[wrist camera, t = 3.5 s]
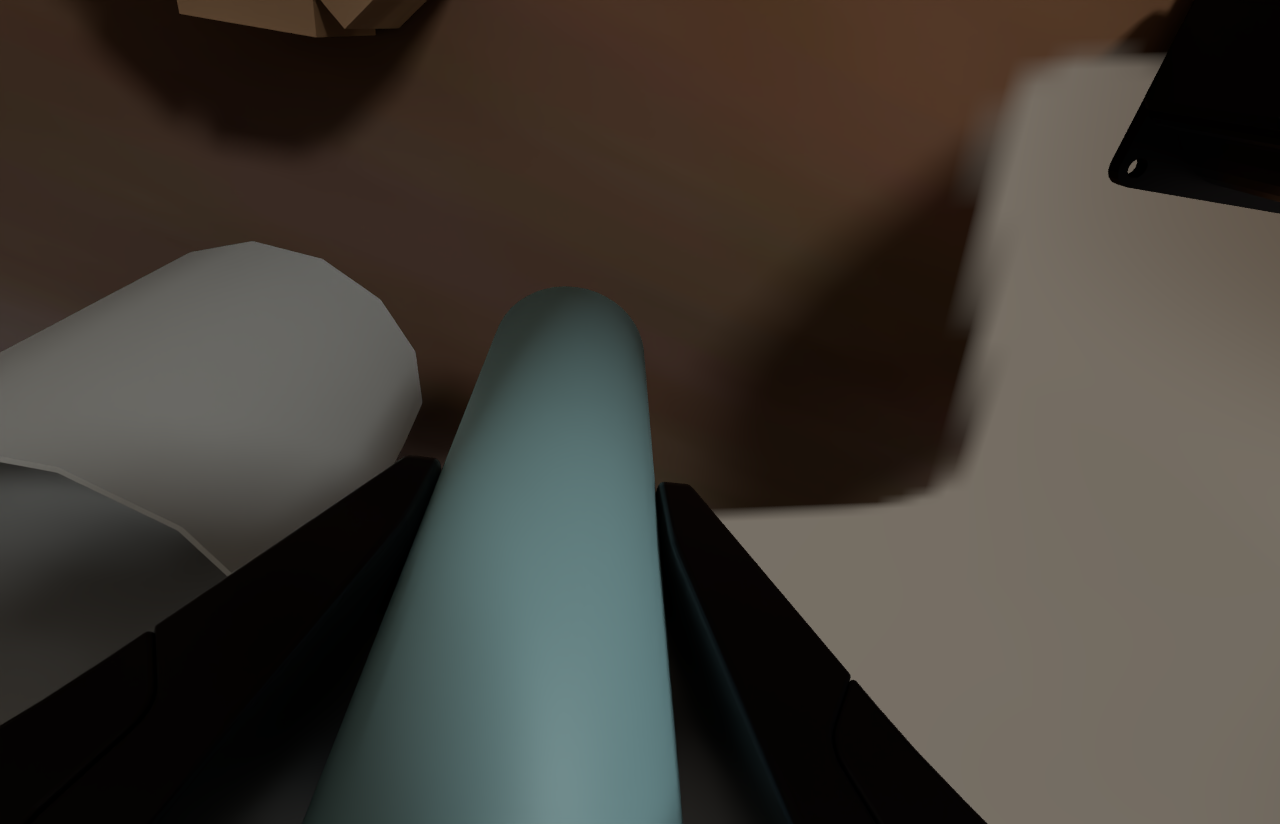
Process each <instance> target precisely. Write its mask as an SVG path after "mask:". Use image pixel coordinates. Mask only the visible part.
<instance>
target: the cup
mask: <svg viewBox="0 0 1280 824" xmlns="http://www.w3.org/2000/svg"><path fill="white" fill-rule="evenodd" d="M421 405H422V396H421V389H420V382H419V375H418V368H417V360H416V353H415V350H414V349H413V347H412V346H411V345H410V343H409V342H408V340H407V339H406V337H405V336H404V334H403V333H402V331H401V330H400V328H399V327H398V325H397V324H396V322H395V321H394V319H393V318H392V316H391V315H390V313H389V312H388V310H387V309H386V307H385V306H384V304H383V303H382V301H381V300H380V299H379V298H377V297H376V296H374V295H373V294H372V293H370V292H369V291H367V290H366V289H364V288H363V287H362V286H360V285H359V284H357V283H356V282H354V281H353V280H352V279H350V278H349V277H347V276H346V275H344V274H343V273H342V272H340V271H339V270H337V269H336V268H334V267H333V266H331V265H330V264H329V263H327V262H326V261H324V260H323V259H320V258H316V257H313V256H309V255H305V254H301V253H297V252H293V251H289V250H285V249H281V248H277V247H273V246H269V245H265V244H262V243H258V242H254V241H251V242H246V243H240V244H234V245H229V246H223V247H218V248H212V249H206V250H201V251H195V252H190V253H188V254H186V255H184V256H182V257H180V258H179V259H177V260H175V261H173V262H171V263H169V264H167V265H165V266H163V267H162V268H160V269H158V270H156V271H154V272H152V273H150V274H148V275H146V276H144V277H143V278H141V279H139V280H137V281H135V282H133V283H131V284H129V285H127V286H126V287H124V288H122V289H120V290H118V291H116V292H114V293H112V294H110V295H108V296H107V297H105V298H103V299H101V300H99V301H97V302H95V303H93V304H91V305H90V306H88V307H86V308H84V309H82V310H80V311H78V312H76V313H74V314H72V315H71V316H69V317H67V318H65V319H63V320H61V321H59V322H57V323H55V324H54V325H52V326H50V327H48V328H46V329H44V330H42V331H40V332H38V333H36V334H35V335H33V336H31V337H29V338H27V339H25V340H23V341H21V342H19V343H18V344H16V345H14V346H12V347H10V348H8V349H6V350H4V351H2V352H0V725H1V724H3V723H4V722H6V721H8V720H9V719H11V718H13V717H14V716H16V715H18V714H19V713H21V712H22V711H24V710H26V709H27V708H29V707H31V706H32V705H34V704H36V703H37V702H39V701H41V700H42V699H44V698H45V697H47V696H48V695H50V694H51V693H53V692H55V691H56V690H58V689H59V688H61V687H62V686H64V685H65V684H67V683H68V682H70V681H71V680H73V679H75V678H76V677H78V676H79V675H81V674H82V673H84V672H85V671H87V670H88V669H90V668H91V667H93V666H95V665H96V664H98V663H99V662H101V661H102V660H104V659H105V658H107V657H108V656H110V655H111V654H113V653H114V652H116V651H117V650H119V649H120V648H122V647H123V646H125V645H126V644H128V643H129V642H130V641H132V640H133V639H135V638H136V637H138V636H139V635H141V634H142V633H144V632H145V631H152V632H153V633H154V627H155V625H156V624H158V623H159V622H161V621H162V620H163V619H165V618H166V617H168V616H169V615H171V614H172V613H174V612H175V611H177V610H178V609H180V608H181V607H183V606H184V605H186V604H187V603H189V602H190V601H192V600H193V599H194V598H196V597H197V596H199V595H200V594H202V593H203V592H205V591H206V590H208V589H209V588H211V587H212V586H214V585H215V584H217V583H218V582H220V581H221V580H223V579H224V578H226V577H227V576H228V575H230V574H231V573H233V572H234V571H236V570H237V569H239V568H240V567H242V566H243V565H245V564H246V563H248V562H249V561H251V560H252V559H254V558H255V557H257V556H258V555H259V554H261V553H262V552H264V551H265V550H267V549H268V548H270V547H271V546H273V545H274V544H276V543H277V542H279V541H280V540H282V539H283V538H285V537H286V536H288V535H289V534H291V533H292V532H293V531H295V530H296V529H298V528H299V527H301V526H302V525H304V524H305V523H307V522H308V521H310V520H311V519H313V518H314V517H316V516H317V515H319V514H320V513H322V512H323V511H324V510H326V509H327V508H329V507H330V506H332V505H333V504H335V503H336V502H338V501H339V500H341V499H342V498H344V497H345V496H347V495H348V494H350V493H351V492H353V491H354V490H356V489H357V488H358V487H360V486H361V485H363V484H364V483H366V482H367V481H369V480H370V479H372V478H373V477H375V476H376V475H378V474H379V473H381V472H382V471H384V470H385V469H387V468H388V467H389V466H391V465H392V464H394V463H395V461H396V459H397V457H398V455H399V453H400V452H401V450H402V448H403V446H404V444H405V441H406V439H407V437H408V435H409V432H410V430H411V428H412V425H413V423H414V421H415V419H416V416H417V414H418V412H419V410H420V407H421Z"/></svg>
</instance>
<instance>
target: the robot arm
mask: <svg viewBox="0 0 1280 824" xmlns="http://www.w3.org/2000/svg"><path fill="white" fill-rule="evenodd" d="M1135 160H1137V165H1136V168H1135V169H1134V170H1133V171H1132V172H1131V173H1129V174H1128V172H1127V171H1128V168H1129V166H1130V165H1131V163H1132V162H1133V161H1135ZM1108 174H1109V178H1110V180H1111V181H1112V182H1114V183H1116V184H1118V185H1121V186H1125V187H1128V188H1134V189H1140V190H1146V191H1151V192H1158V193H1163V194H1169V195H1175V196H1181V197H1186V198H1192V199H1198V200H1204V201H1210V202H1216V203H1221V204H1227V205H1234V206H1239V207H1245V208H1251V209H1257V210H1262V211H1268V212H1274V213H1280V0H1195V1H1194V3H1193V5H1192V7H1191V8H1190V10H1189V12H1188V14H1187V16H1186V18H1185V20H1184V22H1183V24H1182V26H1181V28H1180V30H1179V32H1178V34H1177V35H1176V37H1175V39H1174V41H1173V43H1172V45H1171V47H1170V49H1169V51H1168V53H1167V55H1166V57H1165V59H1164V61H1163V62H1162V64H1161V66H1160V68H1159V70H1158V72H1157V74H1156V76H1155V78H1154V80H1153V82H1152V84H1151V86H1150V88H1149V89H1148V91H1147V94H1146V95H1145V98H1144V99H1143V102H1142V103H1141V105H1140V107H1139V109H1138V111H1137V113H1136V115H1135V117H1134V119H1133V121H1132V123H1131V125H1130V126H1129V129H1128V130H1127V132H1126V134H1125V136H1124V138H1123V140H1122V142H1121V144H1120V146H1119V148H1118V150H1117V151H1116V153H1115V155H1114V157H1113V159H1112V161H1111V163H1110V166H1109V169H1108ZM440 473H441V465H440V462H439V461H438V460H437V459H436V458H430V457H420V456H405V457H403V458H401V459H400V460H398V461H397V462H395V463H394V464H392V465H391V466H389V467H388V468H387V469H385V470H384V471H382V472H381V473H379V474H378V475H376V476H375V477H373V478H372V479H370V480H369V481H367V482H366V483H364V484H363V485H361V486H360V487H358V488H357V489H356V490H354V491H353V492H351V493H350V494H348V495H347V496H345V497H344V498H342V499H341V500H339V501H338V502H336V503H335V504H333V505H332V506H330V507H329V508H327V509H326V510H324V511H323V512H322V513H320V514H319V515H317V516H316V517H314V518H313V519H311V520H310V521H308V522H307V523H305V524H304V525H302V526H301V527H299V528H298V529H296V530H295V531H293V532H292V533H291V534H289V535H288V536H286V537H285V538H283V539H282V540H280V541H279V542H277V543H276V544H274V545H273V546H271V547H270V548H268V549H267V550H265V551H264V552H262V553H261V554H259V555H258V556H257V557H255V558H254V559H252V560H251V561H249V562H248V563H246V564H245V565H243V566H242V567H240V568H239V569H237V570H236V571H234V572H233V573H231V574H230V575H228V576H227V577H226V578H224V579H223V580H221V581H220V582H218V583H217V584H215V585H214V586H212V587H211V588H209V589H208V590H206V591H205V592H203V593H202V594H200V595H199V596H197V597H196V598H194V599H193V600H192V601H190V602H189V603H187V604H186V605H184V606H183V607H181V608H180V609H178V610H177V611H175V612H174V613H172V614H171V615H169V616H168V617H166V618H165V619H163V620H162V621H161V622H159V623H158V624H156V625H155V627H154V633H153V632H152V631H145V632H144V633H142V634H141V635H139V636H138V637H136V638H135V639H133V640H132V641H130V642H129V643H128V644H126V645H125V646H123V647H122V648H120V649H119V650H117V651H116V652H114V653H113V654H111V655H110V656H108V657H107V658H105V659H104V660H102V661H101V662H99V663H98V664H96V665H95V666H93V667H91V668H90V669H88V670H87V671H85V672H84V673H82V674H81V675H79V676H78V677H76V678H75V679H73V680H71V681H70V682H68V683H67V684H65V685H64V686H62V687H61V688H59V689H58V690H56V691H55V692H53V693H51V694H50V695H48V696H47V697H45V698H44V699H42V700H41V701H39V702H37V703H36V704H34V705H32V706H31V707H29V708H27V709H26V710H24V711H22V712H21V713H19V714H18V715H16V716H14V717H13V718H11V719H9V720H8V721H6V722H4V723H3V724H1V725H0V824H302V822H303V820H304V817H305V814H306V812H307V809H308V807H309V804H310V802H311V799H312V797H313V794H314V792H315V789H316V787H317V784H318V782H319V779H320V777H321V774H322V772H323V769H324V766H325V764H326V761H327V759H328V756H329V754H330V751H331V749H332V746H333V744H334V741H335V739H336V736H337V734H338V731H339V729H340V726H341V724H342V721H343V718H344V716H345V713H346V711H347V708H348V706H349V703H350V701H351V698H352V696H353V693H354V691H355V688H356V686H357V683H358V681H359V678H360V675H361V673H362V670H363V668H364V665H365V663H366V660H367V658H368V655H369V653H370V650H371V648H372V645H373V643H374V640H375V638H376V635H377V633H378V630H379V627H380V625H381V622H382V620H383V617H384V615H385V612H386V610H387V607H388V605H389V602H390V600H391V597H392V595H393V592H394V590H395V587H396V585H397V582H398V579H399V577H400V574H401V572H402V569H403V567H404V564H405V562H406V559H407V557H408V554H409V552H410V549H411V547H412V544H413V542H414V539H415V537H416V534H417V531H418V529H419V526H420V524H421V521H422V519H423V516H424V514H425V511H426V509H427V506H428V504H429V501H430V499H431V496H432V494H433V491H434V489H435V486H436V483H437V481H438V478H439V476H440ZM656 504H657V516H658V528H659V540H660V552H661V564H662V576H663V588H664V600H665V612H666V624H667V636H668V648H669V660H670V672H671V684H672V696H673V708H674V720H675V732H676V744H677V756H678V768H679V781H680V793H681V805H682V817H683V824H987V823H986V822H985V821H984V820H983V819H982V818H981V817H980V816H979V815H978V814H977V813H976V812H975V811H974V810H973V809H972V808H971V807H970V806H969V805H968V804H967V803H966V802H965V801H964V800H963V799H962V797H961V796H960V795H959V794H958V793H957V792H956V791H955V790H954V789H953V788H952V787H951V786H950V785H949V784H948V783H947V782H946V781H945V780H944V779H943V778H942V777H941V775H939V773H937V771H936V770H935V769H934V768H933V767H932V766H931V765H930V764H929V763H928V762H927V761H926V760H925V759H924V758H923V757H922V756H921V755H920V754H919V753H918V751H917V750H916V749H915V748H914V747H913V746H912V745H911V744H910V743H909V741H908V740H907V739H906V738H905V737H904V736H903V735H902V733H901V732H900V731H899V730H898V729H897V728H896V727H895V725H893V723H892V722H891V721H890V720H889V719H888V718H887V716H886V715H885V714H884V713H883V712H882V711H881V710H880V709H879V708H878V706H877V705H876V704H875V703H874V701H873V700H872V699H871V698H870V697H869V696H868V694H867V693H866V692H865V691H864V690H863V689H862V687H861V686H860V685H859V684H858V683H857V681H855V680H851V681H850V678H851V677H850V674H849V672H848V671H847V670H846V669H845V668H844V666H843V665H842V664H841V663H840V662H839V661H838V659H837V658H836V657H835V656H834V655H833V653H832V652H831V651H830V650H829V649H828V647H827V646H826V645H825V644H824V643H823V642H822V640H821V639H820V638H819V637H818V636H817V634H816V633H815V632H814V631H813V630H812V628H811V627H810V626H809V625H808V624H807V623H806V621H805V620H804V619H803V618H802V617H801V616H800V614H799V613H798V612H797V611H796V610H795V608H794V607H793V606H792V605H791V604H790V602H789V601H788V600H787V599H786V598H785V596H784V595H783V594H782V593H781V592H780V591H779V589H778V588H777V587H776V586H775V585H774V584H773V582H772V581H771V580H770V579H769V578H768V577H767V575H766V574H765V573H764V572H763V570H762V569H761V568H760V567H759V566H758V565H757V563H756V562H755V561H754V560H753V559H752V558H751V556H750V555H749V554H748V553H747V552H746V550H745V549H744V548H743V547H742V546H741V544H740V543H739V542H738V541H737V540H736V539H735V537H734V536H733V535H732V534H731V533H730V531H729V530H728V529H727V528H726V527H725V525H724V524H723V523H722V522H721V521H720V520H719V518H718V517H717V516H716V515H715V514H714V512H713V511H712V510H711V509H710V508H709V507H708V505H707V504H706V503H705V502H704V501H703V499H702V498H701V497H700V496H699V495H698V493H697V492H696V491H695V490H694V489H693V488H692V487H691V486H690V485H688V484H680V483H671V482H662V483H660V484H659V486H658V488H657V491H656ZM849 681H850V682H849Z"/></svg>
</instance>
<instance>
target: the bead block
mask: <svg viewBox="0 0 1280 824" xmlns="http://www.w3.org/2000/svg"><path fill="white" fill-rule="evenodd" d="M426 1H427V0H177V3H178V9H179V14H184V15H189V16H195V17H201V18H207V19H213V20H218V21H224V22H230V23H236V24H241V25H247V26H253V27H259V28H265V29H270V30H276V31H282V32H288V33H293V34H299V35H305V36H311V37H342V36H370V35H376V33H375V29H395V28H400V27H401V26H402V25H403V24H404V23H405V22H406V21H407V20H408V19H409V18H410V17H411V16H412V15H413V14H414V13H415V12H416V11H417V10H418V9H419V8H420V7H421V6H422V5H423V4H424V3H425V2H426Z"/></svg>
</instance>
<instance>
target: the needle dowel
mask: <svg viewBox="0 0 1280 824" xmlns="http://www.w3.org/2000/svg"><path fill="white" fill-rule="evenodd" d="M302 824H683V817H682V805H681V793H680V781H679V768H678V756H677V744H676V732H675V720H674V708H673V696H672V684H671V672H670V660H669V648H668V636H667V624H666V612H665V600H664V588H663V576H662V564H661V552H660V540H659V528H658V516H657V504H656V492H655V480H654V468H653V456H652V444H651V432H650V420H649V408H648V396H647V384H646V372H645V360H644V349H643V344H642V340H641V337H640V334H639V331H638V329H637V327H636V325H635V324H634V322H633V321H632V319H631V318H630V317H629V315H628V314H627V313H626V312H625V311H624V310H623V309H622V308H621V307H620V306H618V305H617V304H616V303H615V302H613V301H612V300H610V299H609V298H607V297H605V296H603V295H601V294H599V293H597V292H594V291H591V290H588V289H583V288H578V287H554V288H548V289H544V290H541V291H538V292H535V293H533V294H531V295H529V296H527V297H525V298H524V299H522V300H520V301H519V302H518V303H517V304H515V305H514V306H513V307H512V308H511V309H510V310H509V311H508V313H507V314H506V315H505V316H504V318H503V320H502V321H501V323H500V325H499V327H498V329H497V332H496V334H495V337H494V339H493V342H492V344H491V347H490V350H489V352H488V355H487V357H486V360H485V362H484V365H483V367H482V370H481V372H480V375H479V377H478V380H477V382H476V385H475V387H474V390H473V392H472V395H471V398H470V400H469V403H468V405H467V408H466V410H465V413H464V415H463V418H462V420H461V423H460V425H459V428H458V430H457V433H456V435H455V438H454V440H453V443H452V446H451V448H450V451H449V453H448V456H447V458H446V461H445V463H444V466H443V468H442V471H441V473H440V476H439V478H438V481H437V483H436V486H435V489H434V491H433V494H432V496H431V499H430V501H429V504H428V506H427V509H426V511H425V514H424V516H423V519H422V521H421V524H420V526H419V529H418V531H417V534H416V537H415V539H414V542H413V544H412V547H411V549H410V552H409V554H408V557H407V559H406V562H405V564H404V567H403V569H402V572H401V574H400V577H399V579H398V582H397V585H396V587H395V590H394V592H393V595H392V597H391V600H390V602H389V605H388V607H387V610H386V612H385V615H384V617H383V620H382V622H381V625H380V627H379V630H378V633H377V635H376V638H375V640H374V643H373V645H372V648H371V650H370V653H369V655H368V658H367V660H366V663H365V665H364V668H363V670H362V673H361V675H360V678H359V681H358V683H357V686H356V688H355V691H354V693H353V696H352V698H351V701H350V703H349V706H348V708H347V711H346V713H345V716H344V718H343V721H342V724H341V726H340V729H339V731H338V734H337V736H336V739H335V741H334V744H333V746H332V749H331V751H330V754H329V756H328V759H327V761H326V764H325V766H324V769H323V772H322V774H321V777H320V779H319V782H318V784H317V787H316V789H315V792H314V794H313V797H312V799H311V802H310V804H309V807H308V809H307V812H306V814H305V817H304V820H303V822H302Z"/></svg>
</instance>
